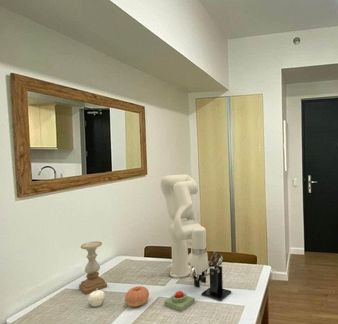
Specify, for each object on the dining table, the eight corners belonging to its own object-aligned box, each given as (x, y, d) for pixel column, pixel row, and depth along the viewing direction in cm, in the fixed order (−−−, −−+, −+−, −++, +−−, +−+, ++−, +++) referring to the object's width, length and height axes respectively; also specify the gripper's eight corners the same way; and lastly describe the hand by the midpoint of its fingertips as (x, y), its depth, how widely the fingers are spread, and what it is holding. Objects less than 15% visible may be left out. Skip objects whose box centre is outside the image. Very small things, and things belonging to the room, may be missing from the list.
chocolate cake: (217, 268, 172) (224, 251, 179) (207, 265, 173) (214, 247, 180) (218, 273, 179) (225, 256, 187) (208, 270, 180) (215, 253, 188)
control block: (164, 305, 131) (164, 297, 131) (178, 296, 138) (177, 289, 138) (181, 311, 125) (181, 303, 125) (194, 302, 133) (194, 294, 132)
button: (173, 297, 131) (173, 293, 131) (179, 293, 134) (179, 290, 134) (179, 299, 129) (179, 295, 129) (184, 295, 132) (184, 292, 132)
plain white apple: (93, 310, 128) (93, 293, 128) (85, 306, 132) (84, 289, 131) (108, 303, 134) (107, 287, 134) (99, 299, 138) (99, 283, 137)
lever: (197, 282, 144) (195, 276, 145) (201, 280, 147) (199, 274, 148) (217, 274, 137) (214, 268, 138) (221, 272, 140) (218, 266, 141)
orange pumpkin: (131, 298, 138) (130, 282, 138) (152, 298, 138) (152, 282, 137) (121, 310, 127) (120, 293, 127) (144, 310, 127) (143, 293, 127)
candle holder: (78, 287, 150) (76, 244, 149) (100, 280, 158) (98, 239, 157) (85, 294, 143) (83, 249, 142) (107, 286, 151) (105, 243, 150)
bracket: (201, 295, 139) (201, 268, 139) (212, 287, 147) (212, 262, 147) (220, 301, 133) (220, 273, 133) (231, 293, 141) (230, 266, 140)
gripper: (204, 244, 154) (204, 276, 155) (182, 254, 140) (183, 289, 140) (214, 246, 150) (215, 279, 151) (193, 257, 136) (194, 293, 136)
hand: (200, 284), depth 146 cm, fingers open, 4 cm apart
